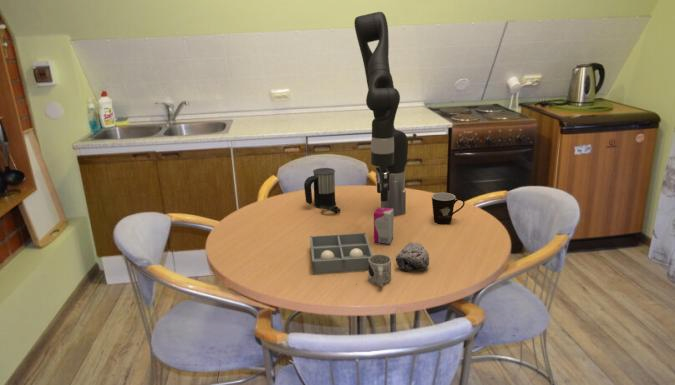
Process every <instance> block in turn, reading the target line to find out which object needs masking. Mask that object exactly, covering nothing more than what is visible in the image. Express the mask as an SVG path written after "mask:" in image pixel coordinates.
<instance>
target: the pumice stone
mask: <svg viewBox="0 0 675 385" xmlns="http://www.w3.org/2000/svg"><path fill="white" fill-rule="evenodd" d="M395 262H396V265H397V266H398V267H399V268H400V269H401V270H403V271H406V272H414V271H425V270H427V269H428V267H429V265H430V257H429V252H428V251H427V249H426V248H425V247H424V246H423V244H421V243H419V242H412V241H409V242H408V243H407V244H406V245H404V247H403V248H402V249H401V251H400V252H398V254H396V256H395Z"/></svg>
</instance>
